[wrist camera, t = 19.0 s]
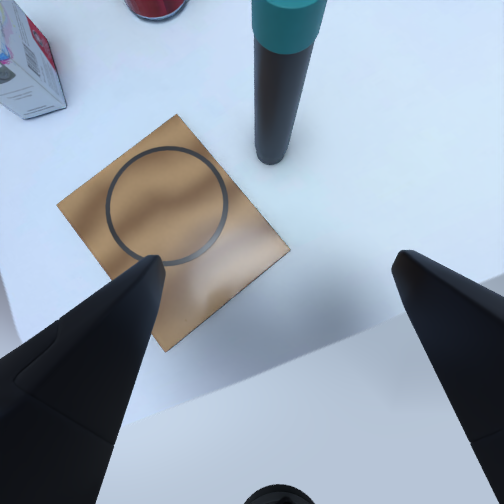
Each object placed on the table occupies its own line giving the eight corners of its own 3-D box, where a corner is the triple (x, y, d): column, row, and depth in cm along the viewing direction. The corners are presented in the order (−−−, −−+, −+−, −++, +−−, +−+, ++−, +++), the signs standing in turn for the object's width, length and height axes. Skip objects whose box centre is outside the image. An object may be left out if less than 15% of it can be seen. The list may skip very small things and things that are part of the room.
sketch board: (290, 250, 22) (291, 249, 22) (167, 350, 22) (164, 353, 21) (178, 117, 24) (176, 112, 23) (60, 206, 23) (54, 204, 23)
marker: (294, 153, 23) (350, -24, 9) (268, 174, 23) (287, 23, 9) (272, 129, 24) (297, -78, 10) (247, 149, 24) (234, -33, 10)
